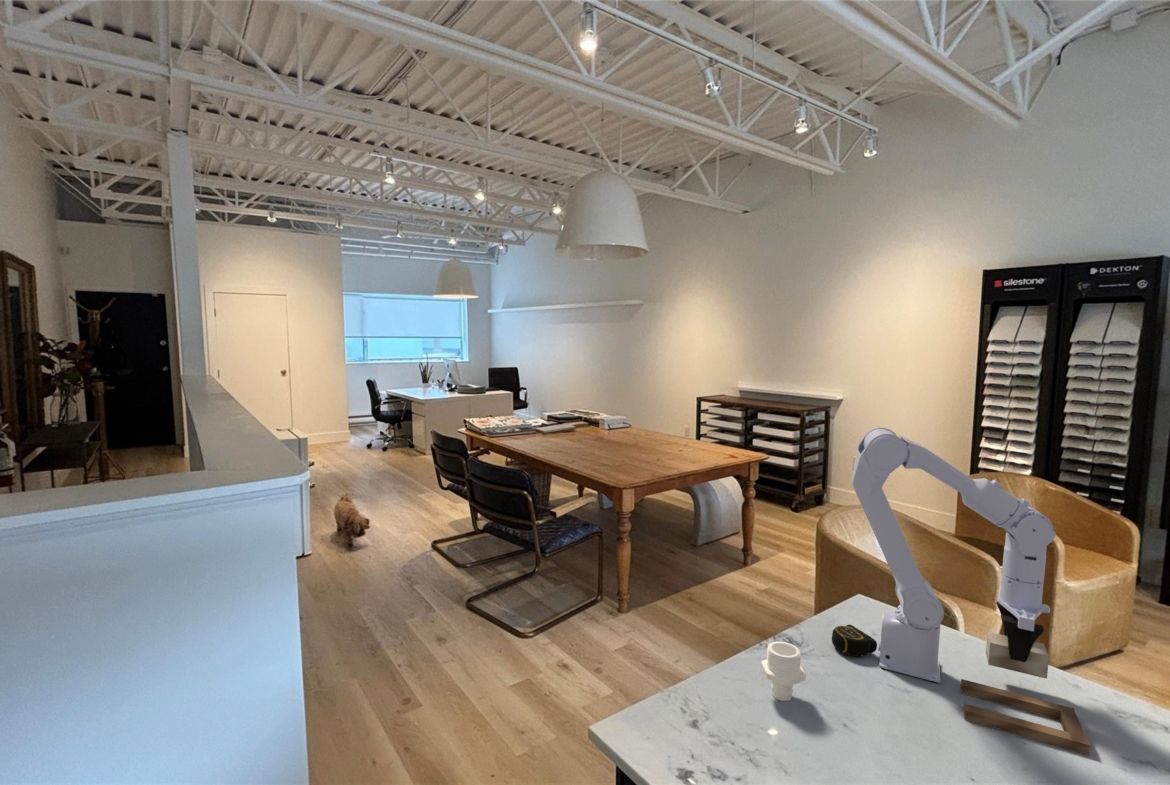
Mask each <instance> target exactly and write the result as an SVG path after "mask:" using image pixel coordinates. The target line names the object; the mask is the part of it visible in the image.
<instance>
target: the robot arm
mask: <svg viewBox="0 0 1170 785" xmlns="http://www.w3.org/2000/svg"><path fill="white" fill-rule="evenodd" d="M855 457H856V458H855V461H854V466H853V470H852V474H851V486H852V487H853V489H854V491H855V494H856V497H857V499H858V501H859V503H860V506H861V508H862V510H863V512H864V514H865V516H866V519H867V521H868V523H869V525H870V527H871V530H872V533H873V534H874V536H875V538H876V541H877V543H878V545H879V548H880V549H881V552H882V554H883V557H884V558H885V561H886V562H887V565H888V568H889V570H890V572H891V574H892V577H893V579H894V580H895V589H894V590H895V595H896V598H897V599H898V600H899V605H898V606H897V608H896V609H895V610H894V612H886V611H884V612H882V621H881V633H880V635H881V636H880V640H879V641H878V652H880V653H879V665H878V666H879V667H880V668H882V669H884V670H889V671H893V672H897V673H900V674H905V675H908V676H911V677H915V678H919V679H923V680H926V681H931V682H934V683H938V684H939V683H941V670H940V668H941V667H940V660H939V648H940V647H939V646H940V634H941V623H942V621H943V619H944V615H945V610H944V609H945V608H944V606H943V605H942V603H941V601H940V600H939V599H938V597H937V595H936V593H935V591H934V589H933V586H932V584H931V583H930V582H929V581H928V580H927V579H926V578H924V576H923V575H922V573H921V571H920V570H919V567H918V564H917V563H916V560H915V559H914V555H913V553H912V552H911V550H910V547H909V545H908V543H907V541H906V539H905V537H904V536H905V535H904V534H903V532H902V528H901V527H900V525H899V523H898V521H897V518H896V516H895V514H894V511H893V510H892V507H891V505H890V503H889V500H888V499H887V496H886V494H885V491H884V490H883V486H884V484H885V483H886V481H887V479H889V476H890V475H891V474H892V473H893V472H894V471H896V470H897V469H898V468H899V467H900V466H903V468H904V469H906V470H907V469H909V470H910V469H913V470H914V469H920V470H923V471H924V472H925V473H928V474H929V475H930V476H932V477H934V478H935V479H936V480H939V481H941V482H942V483H943V484H945V485H947V486H948V487H950V488H952V489H953V490H956V491H957V492H958V493H960V495H961V500H962V504H963V505H964V506H965V507H968V508H969V509H970V510H972V511H974V512H975V513H976V514H978V515H980V516H982V517H983V518H984V519H986V520H987V521H989V522H990V523H992V524H994V525H995V526H997V527H998V528H1002V529H1004V531H1005V540H1004V546H1003V555H1002V556H1003V557H1002V568H1001V580H1000V589H999V595H998V597H997V601H996V606H997V608H998V610H999V613H1000V619H1001V622H1002V627H1003V635H1005V636H1007V638H1008V649H1009V655H1010V658H1011V659H1013V660H1017V661H1021V662H1026V660H1027V658H1028V656H1029V654H1030V651H1031V648H1032V646H1033V644H1034V642H1036V641H1037V639H1038V638H1039V637H1040V636H1042V634H1043V633H1044V631H1045V628H1044V626H1043V625H1041V624H1036V623H1035V622H1036V619H1037V618H1038V617H1039V616H1040V615H1041V614H1042V613H1044V614H1050V613H1051V607H1050V606H1049V605H1048V604H1043V594H1044V581H1045V572H1046V564H1047V563H1046V562H1047V548H1048V547H1047V546H1048V545H1049V544H1051V543H1052V542H1053V541H1054V539H1055V538H1056V534H1057V533H1056V531H1054V525H1053V523H1052V521H1051V520H1050V519H1049V518H1048V517H1047V516H1046V515H1045V514H1043V513H1041V512H1040V511H1038V510H1037V509H1035V508H1034V507H1033V506H1032V505H1031V504H1030V502H1029V501H1028V500H1026V499H1024V498H1020V499H1019V498H1018V497H1016V496H1015V495H1013V494H1012V493H1010V492H1008V491H1006V490H1005V489H1003V488H1002V487H1003V484H1002V483H1000V482H999V481H997V480H995V479H992V480H989V478H988V479H987V478H984V477H983V478H971V477H969V476H968V475H966V474H965V473H964V472H962V471H961V470H959V469H958V468H956V467H955V466H953V465H952V464H950V463H949V462H947V461H945V459H943V458H941V457H940V456H939V455H937V454H935V453H934V452H932V451H931V450H929V449H928V448H926V447H925V446H923V445H921V444H919V443H918V442H915V441H913V440H911V439H910V438H907V437H905V436H904V435H903V436H902V435H901V434H899V436H898V435H897V434H896V433H895V432H894V431H893V430H892V429H890V428H887V427H874V428H872V429H870V430H869V431H867V432H866V433H865V434H864V436H863V438H862V439H861V440H860V442H859V443H858V444H857V449H856V456H855Z"/></svg>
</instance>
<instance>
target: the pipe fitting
mask: <svg viewBox="0 0 1170 785" xmlns="http://www.w3.org/2000/svg"><path fill="white" fill-rule="evenodd" d="M801 653H802V652H801V650H800V649H799V648H798V647H797V646H796V645H794V644H792V643H789V642H786V641H785V642H784V641H773V642H770V643H769V644H767V653H766V659H763V660H761V662H760V668H761V669H762V672H763V674H764V676H765V679H766V680H770V681H771V695H772V696H773V698H775V699H776V700H778V701H782V702H788V701H790V700H792V697H793V686H794V685H797V684H799V683H802V682H805V681H806V676H807V674H806V673H805V671H804V669H803V667H802V666H801V657H802V656H801Z"/></svg>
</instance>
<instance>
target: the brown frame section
mask: <svg viewBox="0 0 1170 785" xmlns="http://www.w3.org/2000/svg"><path fill="white" fill-rule="evenodd" d="M960 692H961V694H963V695H967V696H970V697H973V698H974V697H975V698H978V699H981V700H982V699H983V700H985V701H989V702H993V703H997V704H1000V705H1004V706H1007V707H1012V708H1015V709H1018V710H1023V711H1026V712H1030V713H1034V714H1037V715H1042V716H1044V717H1048V718H1052V719H1056V720H1059V721H1060V724H1061V727H1062V729H1063V730H1062V729H1058V728H1053V727H1050V726H1048V725H1044V724H1039V723H1037V722H1033V721H1028V720H1025V719H1023V718H1018V717H1016V716H1015V717H1014V716H1011V715H1009V714H1004V713H1001V712H997V711H992V710H988V709H986V708H982V707H978V706H975V705H972V704H967V703H963V704H964V705H963V717H964V720H966V721H970V722H973V723H976V724H979V725H984V726H987V727H991V728H993V729H997V730H1001V731H1005V732H1008V733H1011V734H1015V735H1017V736H1021V737H1024V738H1028V739H1032V740H1035V741H1039V742H1041V743H1047V744H1050V745H1053V746H1056V747H1059V748H1064V749H1066V750H1070V751H1073V752H1077V753H1081V754H1083V755H1086V756H1090V750H1091V745H1090V742H1089V740H1088V738H1087V735H1086V733H1085V730H1084V728H1083V726H1082V724H1081V722H1080V720H1079V717H1078V715H1077V712H1076V710H1075V708H1074V707H1070V706H1068V705H1063V704H1059V703H1055V702H1052V701H1048V700H1045V699H1044V700H1043V699H1041V698H1036V697H1033V696H1029V695H1025V694H1022V693H1018V692H1013V691H1009V690H1006V689H1002V688H997V687H994V686H990V685H988V684H987V685H986V684H982V683H978V682H975V681H971V680H967V679H962V678H961V680H960Z"/></svg>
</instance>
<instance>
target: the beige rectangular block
mask: <svg viewBox="0 0 1170 785" xmlns="http://www.w3.org/2000/svg"><path fill="white" fill-rule="evenodd" d="M985 654H986V661H987V665H989V666H992V667H997V668H1000V669H1005V670H1008V671H1014V672H1017V673H1021V674H1026V675H1030V676H1033V677H1038V678H1041V679H1047V680H1048V671H1049V659H1050V655H1049V653H1048V650H1047V648H1046V645H1045V643H1041V642H1036V641H1035V642H1034V644H1033V646H1032V648H1031V651H1030V654H1029V656H1028V658H1027V660H1026V662H1021V661H1017V660H1013V659H1011V658H1010V655H1009V649H1008V638H1007V636H1005V635H1004V634H1000V633H997V632H995V633H994V632H992V631H991V632H990V631H987V633H986V647H985Z"/></svg>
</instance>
